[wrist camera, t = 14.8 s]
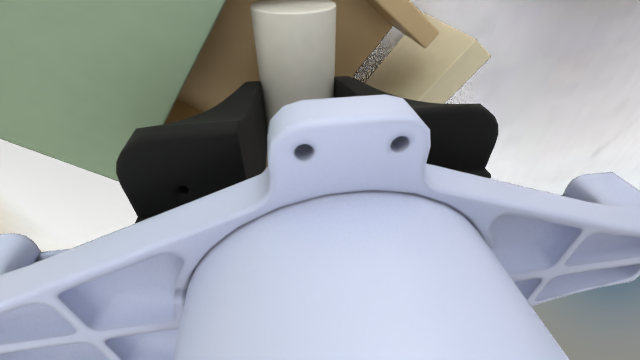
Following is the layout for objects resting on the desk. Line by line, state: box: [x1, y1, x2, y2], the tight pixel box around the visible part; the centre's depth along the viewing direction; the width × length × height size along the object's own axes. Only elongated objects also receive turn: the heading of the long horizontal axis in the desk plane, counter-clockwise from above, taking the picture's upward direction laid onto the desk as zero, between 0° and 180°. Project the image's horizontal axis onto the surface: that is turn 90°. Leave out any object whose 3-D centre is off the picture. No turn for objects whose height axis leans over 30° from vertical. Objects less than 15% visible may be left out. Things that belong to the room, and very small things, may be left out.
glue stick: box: [250, 0, 336, 135], centre depth 13 cm, size 8×3×3 cm, turn 0°
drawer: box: [164, 0, 491, 168], centre depth 16 cm, size 18×12×5 cm
